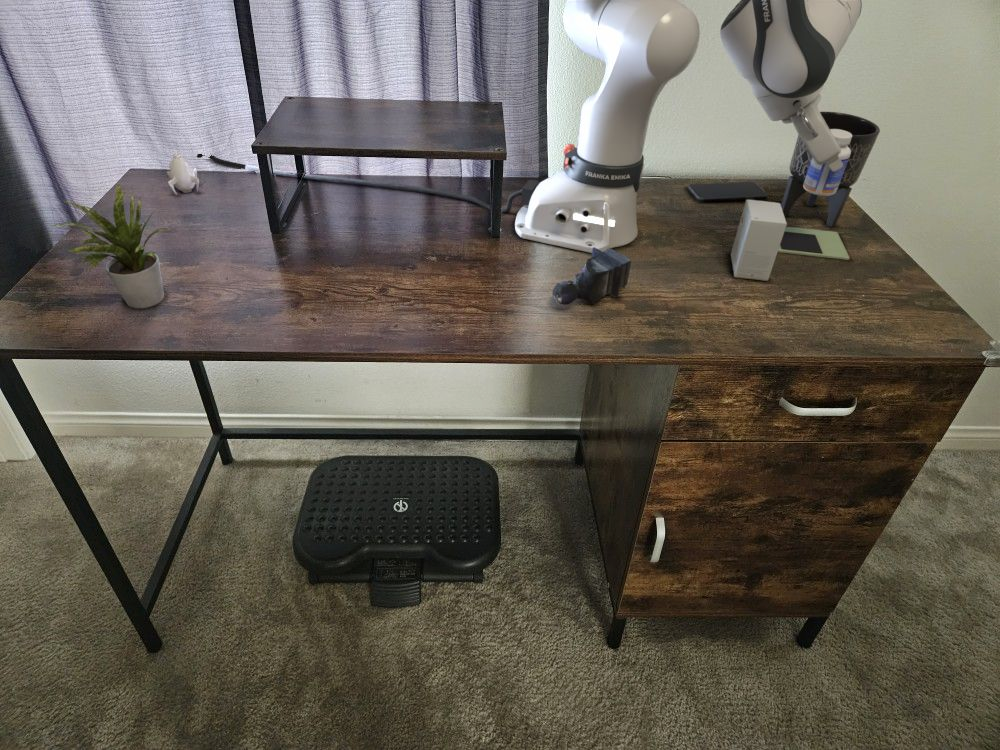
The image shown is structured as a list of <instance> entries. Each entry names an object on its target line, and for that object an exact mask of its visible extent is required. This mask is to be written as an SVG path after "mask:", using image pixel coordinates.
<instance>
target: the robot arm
mask: <svg viewBox="0 0 1000 750" xmlns="http://www.w3.org/2000/svg"><path fill="white" fill-rule="evenodd" d="M862 7H863V3H862V0H740V1H739V2H738V3H737V4H736V5H735V6H734V7H733V8H732V9H731V10H730V12H729V13H728V14H727V16H726V17H725V19H724V20H723V22H722V24H721V25H720V30H719V33H720V34H719V35H720V39H721V42H722V45H723V47H724V49H725V52H726V53H727V55H728V58H729V59H730V60H731V62H732V64H733V65H734V67H735V68H736V70H737V71H738V73H739V74H740V76H741V77H742V78H743V79H745V80H746V81H747V82H748V83H749V84H750V87H751V90H752V93H753V95H754V98H755V99H756V100H757V102H758V103H759V105H760V106H761V108H762V109H763V111H764V112H765V114H766V115H767V117H768V118H769V120H770V121H771V122H779V121H781V122H782V123H783V124H786V125H787V124H792V125H793V126H794V129H795V130H796V133H797V135H798V134H799V136H800V138H801V139H802V141H803V142H804V144H805V146H806V147H807V149H808V150H809V152H810V153H811V155H812V157H813V158H814V160H815V161H816V162H817V163H818V164H819V165H823V164H825V163H827V164H828V166H829V167H830V169H831V170H832V171H833V172H835V171H837V170H839V169H840V168H842V167H843V163H842V162H841V160H840V158H839V157H838V155H839V154H840V153H841V149H840V146H839V145H838V143H837V141H836V139H835V138H834V136H833V134H832V132H831V131H830V129H829V127H828V125H827V124H826V122H825V120H824V118H823V117H822V115H821V113H820V112H821V111H820V110H819V107H818V105H819V104H820V102H821V100H822V95H821V94H820V93H821V92H822V90H823V88H824V86H825V83H826V82H827V80H828V78H829V76H830V74H831V71H832V69H833V67H834V65H835V61H836V59H837V58H838V56H839V54H840V53H841V52H842V50H843V48H844V46H845V44H846V43H847V41H848V40H849V37H850V35H851V34H852V32H853V30H854V28H855V26H856V24H857V22H858V20H859V18H860V16H861V13H862ZM562 23H563V24H562V25H563V28H564V31H565V34H566V36H567V37H568V39H570V40H571V42H573V44H574V45H575V46H576V47H577V48H578V49H579V50H581V51H582V52H583V53H584V54H586V55H587V56H590V57H592V58H594V59H597V60H599V61H602V62H603V63H605V71H604V76H603V79H602V81H601V84H600V86H599V88H598V90H597V91H596V92H594V93H592V94H591V95H589V97H587V98H586V99H585V101H584V102H583V104H582V107H581V111H580V120H579V130H578V139H577V147H576V146H575V145H574V144H573V143H567V144H566V145H565V146H564V150H563V156H564V159H563V168H562V169H561V170H559V171H558V172H556V173H555V174H553V175H551V176H548V177H547V178H545V179H543V180H542V181H539V180H535V179H534V180H533V179H528V180H527V182H525V184H523V186H522V188H521V189H519V190H516V191H514V192H513V193H511V194H510V195H509V196H508V197H507V200H506V201H507V202H506V206H505V207H502V208H501V209H502V212H501V213H500V214H506V213H508V212H510V211H511V210H512V206H513V201H514V200H515V198H517V197H520V196H521V198H520V199H521V200H520V204H521V205H523V206H522V207H520V209H519V210H518V212H517V214H516V216H515V222H514V230H515V233H516V235H518V237H519V238H521V239H524V240H529V241H533V242H539V243H543V244H548V245H553V246H558V247H562V248H566V249H572V250H576V251H581V252H585V253H590V254H592V249H593V247H595V248H597V249H598V250H600V251H602V252H604V251H606V249H614V248H619V247H622V246H625V245H628V244H630V243H632V242H633V241H635V240H636V238H637V237H638V234H639V231H638V222H637V201H638V199H637V197H638V191H639V189H640V186H641V183H642V178H643V172H644V168H645V167H644V165H645V162H644V159H645V156H644V154H643V152H644V147H645V142H646V139H647V138H646V137H647V132H648V128H649V122H650V118H651V114H652V111H653V108H654V106H655V104H656V102H657V100H658V98H659V96H660V94H661V93H662V91H663V89H664V88H665V87H666V85H667V84H668V83H669V82H670V81H671V80H673V79H675V78H677V77H678V76H679V75H681V74H682V73H683V72H684V71H685V70H686V69H687V68H688V67H689V65H690V64H691V62H692V61H693V59H694V57H695V55H696V53H697V50H698V48H699V47H698V46H699V42H700V35H701V34H700V33H701V31H700V30H701V29H700V23H699V20H698V17H697V16H696V14H695V13H694V12H693V11H692V10H691V9H689V7H687V6H686V5H685V4H684V3H682V2H681V1H679V0H566V1H565V5H564V7H563V14H562ZM212 155H213V154H212ZM212 155H211V156H210V157H207V159H208V158H209V159H210V160H211V161H213V162H215V163H217V164H220V165H223V166H226V167H227V166H228V167H230V168H231V167H232V168H237V169H241V170H246V171H252V172H258V173H260V172H259V168H258V167H259V166H255V165H249V164H243V163H240V162H239V163H238V162H234V161H229V160H225V159H221V158H219V157H217V156H215V155H213V156H212ZM203 157H206V156H205V155H202V154H198V153H197V154H196V158H198V159H201V158H203ZM273 173H274V174H273V175H276V176H282V177H289V178H290V177H291V178H295V177H294V176H295V173H296V172H294V171H286V170H280V169H273ZM290 173H293V174H290ZM304 174H305V176H304V178H303V179H305V180H313V181H321V182H333V183H341V184H352V185H361V186H370V187H380V188H387V189H388V188H389V189H395V190H404V191H412V192H418V193H424V194H430V195H437V196H443V197H449V198H453V199H458V200H462V201H468V202H471V203H474V204H477V205H479V206H481V207H482V208H484V209H488V210H490V206H491V205H490V204H488V202H485V201H483V200H481V199H479V198H477V197H475V196H471V195H468V194H462V193H457V192H452V191H447V190H440V189H435V188H429V187H423V186H415V185H408V184H403V183H402V184H401V183H394V182H384V181H378V180H377V181H375V180H367V179H357V178H348V177H339V176H338V177H337V176H328V175H320V174H311V173H304Z"/></svg>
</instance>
